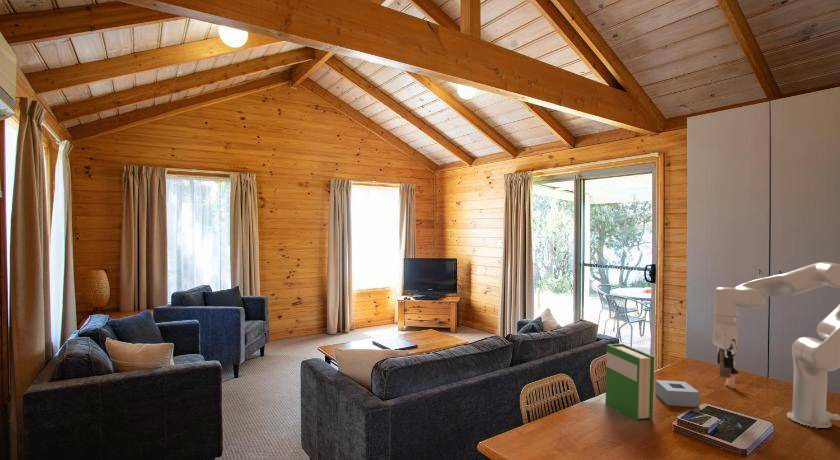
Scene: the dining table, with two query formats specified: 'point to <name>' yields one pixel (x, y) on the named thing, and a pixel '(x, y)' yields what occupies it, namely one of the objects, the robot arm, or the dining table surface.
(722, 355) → the peg
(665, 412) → the dining table surface
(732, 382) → the grandmother figurine
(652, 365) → the hardback book
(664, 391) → the socket block
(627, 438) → the dining table surface
